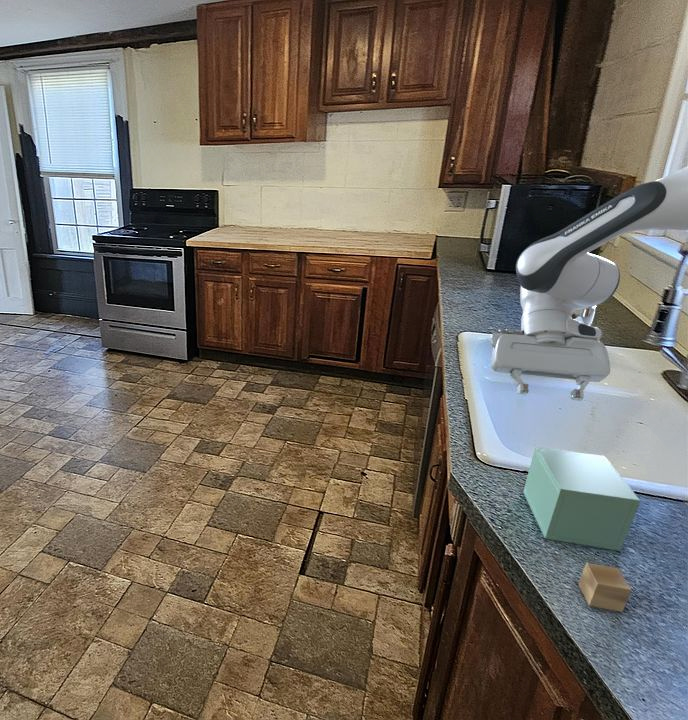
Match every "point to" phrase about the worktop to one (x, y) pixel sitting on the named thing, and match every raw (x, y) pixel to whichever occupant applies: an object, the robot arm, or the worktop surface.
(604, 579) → the cube
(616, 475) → the mint green box
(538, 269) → the robot arm
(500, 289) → the worktop surface
